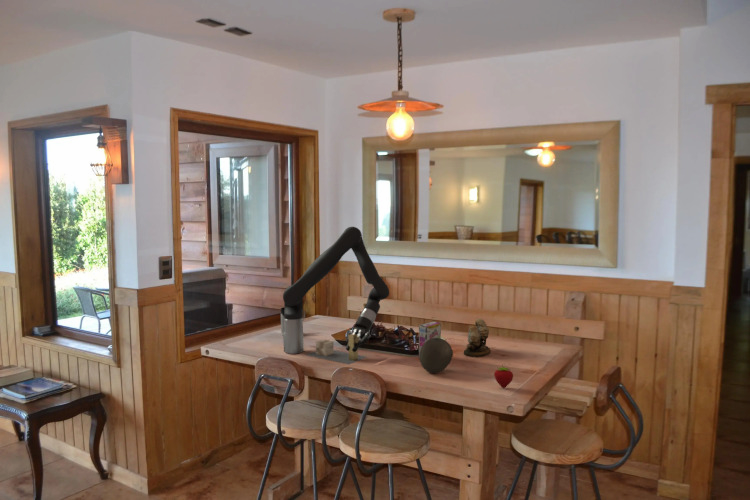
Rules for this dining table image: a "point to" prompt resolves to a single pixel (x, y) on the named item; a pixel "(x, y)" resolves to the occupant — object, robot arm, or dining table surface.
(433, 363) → the coconut
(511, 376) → the strawberry
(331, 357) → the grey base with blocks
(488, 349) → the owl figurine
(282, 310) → the glass holder
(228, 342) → the dining table surface
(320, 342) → the cube
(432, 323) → the candy bar box
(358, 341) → the robot arm
